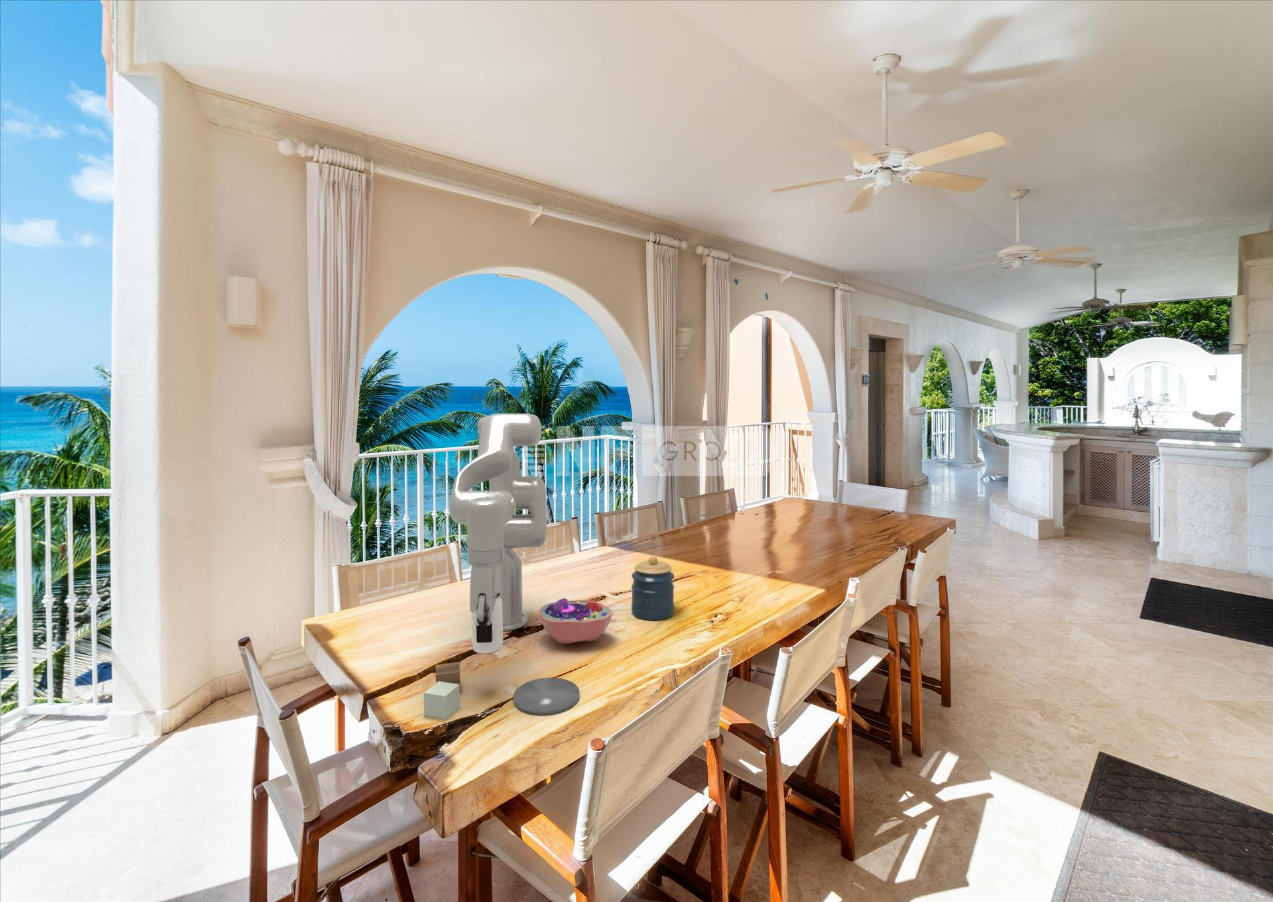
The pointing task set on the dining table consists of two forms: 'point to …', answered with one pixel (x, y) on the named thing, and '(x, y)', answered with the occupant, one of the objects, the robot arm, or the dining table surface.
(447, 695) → the sage block
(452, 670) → the walnut block
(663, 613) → the canister
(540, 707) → the trivet
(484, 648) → the can
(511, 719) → the dining table surface
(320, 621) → the dining table surface
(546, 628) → the cell model
